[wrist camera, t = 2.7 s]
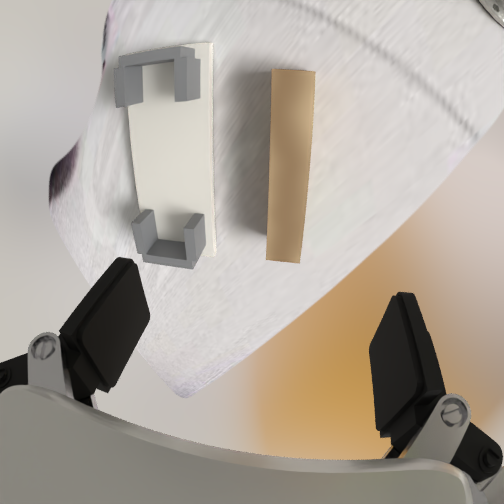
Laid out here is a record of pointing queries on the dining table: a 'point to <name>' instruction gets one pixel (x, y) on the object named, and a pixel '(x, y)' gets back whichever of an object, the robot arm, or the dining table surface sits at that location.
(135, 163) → the mounting board
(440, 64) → the dining table surface
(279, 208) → the slat
